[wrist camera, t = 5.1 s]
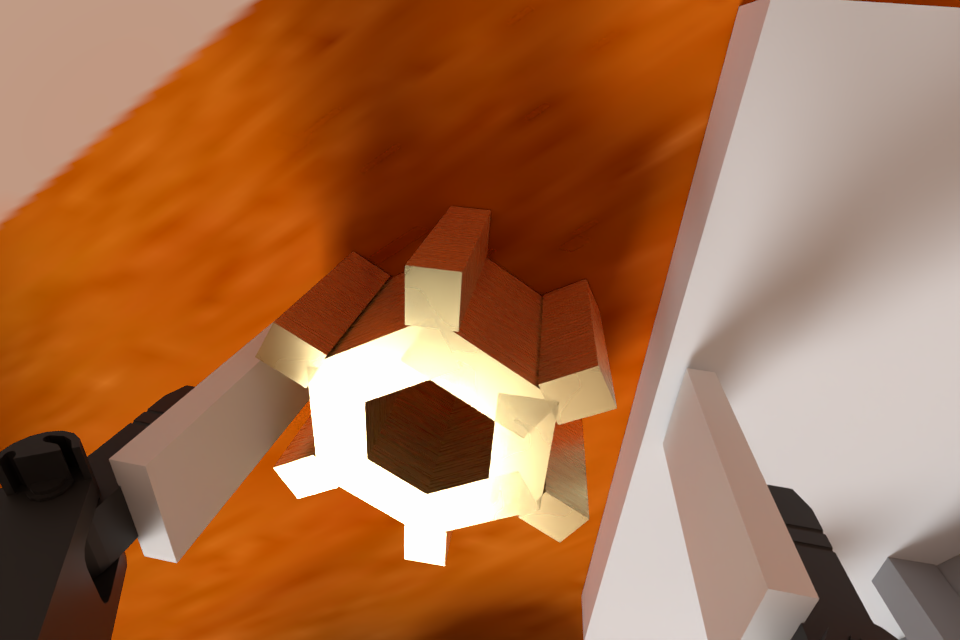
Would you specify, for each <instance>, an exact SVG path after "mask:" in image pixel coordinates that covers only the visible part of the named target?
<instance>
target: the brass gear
mask: <svg viewBox="0 0 960 640" xmlns="http://www.w3.org/2000/svg"><path fill="white" fill-rule="evenodd" d="M490 217H491V210H484V209H475V208H466V207H457V206H450V208H449V209H448V210H447V212H446V213H445V214H444V215H443V217H442V218H441V219H440V221H439V222H438V223H437V224H436V226H435V227H434V228H433V230H432V231H431V232H430V233H429V235H428V236H427V237H426V239H425V240H424V241H423V242H422V244H421V245H420V246H419V248H418V249H417V250H416V251H415V253H414V254H413V255H412V257H411V258H410V259H409V260H408V262H407V263H406V264H405V272H404V273H402V274H399V275H397V276H395V277H392V278H390V275H389V274H387V273H386V272H384V271H383V270H381V269H380V268H378V267H377V266H375V265H374V264H372V263H371V262H369V261H368V260H366V259H365V258H363V257H362V256H360V255H359V254H357V253H356V252H354V251H353V252H352V253H350V254H349V255H348V256H347V257H346V258H345V259H344V260H343V261H342V262H340V263H339V264H338V265H337V266H336V267H335V268H334V269H333V270H331V271H330V272H329V273H328V274H327V275H326V276H325V277H324V278H322V279H321V280H320V281H319V282H318V283H317V284H316V285H315V286H313V287H312V288H311V289H310V290H309V291H308V292H307V293H306V294H304V295H303V296H302V297H301V298H300V299H299V300H298V301H297V302H296V303H294V304H293V305H292V306H291V307H290V308H289V309H288V310H287V311H285V312H284V313H283V314H282V315H281V316H280V317H279V318H278V319H276V320H275V321H274V322H273V324H272V326H271V328H270V330H269V332H268V334H267V335H266V337H265V339H264V341H263V343H262V345H261V347H260V349H259V351H258V352H257V354H256V356H255V357H256V358H257V359H259V360H261V361H262V362H264V363H265V364H267V365H269V366H270V367H272V368H274V369H275V370H277V371H279V372H280V373H282V374H284V375H285V376H287V377H288V378H290V379H292V380H293V381H295V382H297V383H298V384H300V385H302V386H303V387H305V388H307V386H309V395H310V404H311V415H310V417H309V418H308V420H307V421H306V422H305V424H304V425H303V427H302V428H301V429H300V431H299V432H298V434H297V435H296V436H295V438H294V439H293V441H292V442H291V443H290V445H289V446H288V448H287V449H286V450H285V452H284V453H283V455H282V456H281V458H280V459H279V460H278V462H277V463H276V465H275V466H274V467H273V468H274V470H275V471H276V472H277V473H278V475H279V476H280V477H281V478H282V480H283V481H284V482H285V483H286V484H287V486H288V487H289V488H290V489H291V491H292V492H293V493H294V494H295V496H296V497H297V498H302V497H305V496H309V495H312V494H316V493H320V492H323V491H327V490H330V489H334V488H337V487H338V486H340V487H342V488H343V489H345V490H347V491H348V492H350V493H352V494H354V495H355V496H357V497H359V498H361V499H362V500H364V501H366V502H367V503H369V504H371V505H373V506H374V507H376V508H378V509H379V510H381V511H383V512H385V513H386V514H388V515H390V516H392V517H393V518H395V519H397V520H398V521H400V522H402V523H404V524H405V526H404V559H407V560H413V561H418V562H424V563H430V564H435V565H441V566H445V562H446V558H447V553H448V549H449V544H450V540H451V536H452V531H453V530H454V529H458V528H462V527H467V526H471V525H476V524H480V523H484V522H489V521H493V520H497V519H502V518H506V517H511V516H515V515H518V517H519V518H520V519H522V520H524V521H525V522H527V523H529V524H530V525H532V526H534V527H535V528H537V529H538V530H540V531H542V532H543V533H545V534H547V535H548V536H550V537H552V538H553V539H555V540H557V541H558V542H561V541H563V540H564V539H565V538H566V537H568V536H569V535H570V534H571V533H573V532H574V531H575V530H576V529H578V528H579V527H580V526H581V525H583V524H584V523H585V522H586V521H588V520H589V509H588V495H587V481H586V467H585V453H584V439H583V425H582V418H585V417H588V416H592V415H595V414H599V413H602V412H606V411H610V410H613V409H617V406H616V400H615V395H614V389H613V383H612V378H611V372H610V366H609V361H608V355H607V349H606V344H605V338H604V332H603V327H602V321H601V315H600V311H599V308H598V306H597V303H596V301H595V299H594V296H593V294H592V291H591V289H590V286H589V284H588V282H587V279H584V280H581V281H579V282H576V283H573V284H571V285H568V286H565V287H563V288H560V289H557V290H555V291H552V292H549V293H547V294H544V295H543V296H541V295H540V294H538V293H537V292H535V291H534V290H533V289H531V288H530V287H528V286H527V285H525V284H524V283H523V282H521V281H520V280H518V279H517V278H515V277H514V276H512V275H511V274H510V273H508V272H507V271H505V270H504V269H502V268H501V267H500V266H498V265H497V264H495V263H494V262H492V261H491V260H490V259H488V258H487V253H488V241H489V229H490ZM389 278H390V279H389Z"/></svg>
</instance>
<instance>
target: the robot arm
mask: <svg viewBox="0 0 960 640" xmlns="http://www.w3.org/2000/svg"><path fill="white" fill-rule="evenodd" d="M272 324H273V323H272ZM272 324H270V325H269V326H268V327H267V328H266V329H264V330H263V331H262V332H261V333H260V334H258V335H257V336H256V337H255V338H254V339H252V340H251V341H250V342H249V343H248V344H246V345H245V346H244V347H243V348H242V349H240V350H239V351H238V352H237V353H236V354H234V355H233V356H232V357H231V358H230V359H228V360H227V361H226V362H225V363H224V364H222V365H221V366H220V367H219V368H218V369H216V370H215V371H214V372H213V373H212V374H210V375H209V376H208V377H207V378H206V379H204V380H203V381H202V382H201V383H200V384H198V385H197V386H196V387H192V386H184V387H182V388H180V389H178V390H176V391H174V392H172V393H170V394H167V395H165V396H164V397H162V398H161V399H160V400H159V401H157V402H156V403H155V404H154V405H152V406H151V407H150V408H149V409H148V411H147V412H144V413H142V414H141V415H140V416H138V417H137V418H136V419H135V420H134V422H133V423H130V424H128V425H127V426H126V427H125V428H123V429H122V430H121V431H120V432H118V433H117V434H116V435H114V436H113V437H112V438H111V439H109V440H108V441H107V442H106V443H104V444H103V445H102V446H101V447H99V448H98V449H97V450H96V451H94V452H93V453H92V454H90V455H89V456H88V457H87V456H86V453H85V451H84V448H83V446H82V443H81V441H80V438H78V437H77V436H76V435H75V434H74V433H70V432H65V431H53V432H45V433H41V434H37V435H33V436H29V437H27V438H25V439H23V440H20V441H18V442H16V443H13V444H12V445H10V446H9V447H7V448H5V449H4V450H2V451H1V452H0V484H1V486H2V487H3V488H0V640H111V637H112V633H113V628H114V623H115V619H116V614H117V609H118V605H119V600H120V596H121V591H122V586H123V582H124V577H125V572H126V568H127V559H126V555H125V552H124V551H125V550H126V549H127V548H128V547H129V546H130V545H131V544H132V543H133V542H134V541H135V539H136V538H137V537H138V540H139V543H140V545H141V548H142V551H143V554H144V556H147V557H151V558H156V559H160V560H165V561H169V562H174V563H177V562H178V561H179V560H180V559H181V557H182V556H183V555H184V554H185V553H186V551H187V550H188V549H189V548H190V546H191V545H192V544H193V543H194V541H195V540H196V539H197V538H198V536H199V535H200V534H201V533H202V532H203V530H204V529H205V528H206V527H207V525H208V524H209V523H210V522H211V520H212V519H213V518H214V517H215V515H216V514H217V513H218V512H219V510H220V509H221V508H222V507H223V506H224V504H225V503H226V502H227V501H228V499H229V498H230V497H231V496H232V494H233V493H234V492H235V491H236V489H237V488H238V487H239V486H240V485H241V483H242V482H243V481H244V480H245V478H246V477H247V476H248V475H249V473H250V472H251V471H252V470H253V468H254V467H255V466H256V465H257V464H258V462H259V461H260V460H261V459H262V457H263V456H264V455H265V454H266V452H267V451H268V450H269V449H270V447H271V446H272V445H273V444H274V443H275V441H276V440H277V439H278V438H279V436H280V435H281V434H282V433H283V431H284V430H285V429H286V428H287V426H288V425H289V424H290V423H291V422H292V420H293V419H294V418H295V417H296V415H297V414H298V413H299V412H300V410H301V409H302V408H303V407H304V405H305V404H306V403H307V402H308V400H309V399H310V395H309V386H307V388H305V387H303V386H302V385H300V384H298V383H297V382H295V381H293V380H292V379H290V378H288V377H287V376H285V375H284V374H282V373H280V372H279V371H277V370H275V369H274V368H272V367H270V366H269V365H267V364H265V363H264V362H262V361H261V360H259V359H257V358H256V357H255V356H256V354H257V352H258V351H259V349H260V347H261V345H262V343H263V341H264V339H265V337H266V335H267V334H268V332H269V330H270V328H271V326H272ZM663 448H664V452H665V457H666V461H667V465H668V470H669V474H670V478H671V483H672V487H673V491H674V496H675V500H676V504H677V509H678V513H679V517H680V522H681V526H682V531H683V535H684V539H685V544H686V548H687V552H688V557H689V561H690V565H691V570H692V574H693V578H694V583H695V587H696V591H697V596H698V600H699V604H700V609H701V613H702V617H703V622H704V626H705V630H706V635H707V639H708V640H898V639H897V638H896V637H894V636H893V635H892V634H890V633H889V632H887V631H886V630H885V629H883V628H882V627H880V626H878V625H876V624H874V623H873V621H872V620H871V618H870V616H869V614H868V612H867V611H866V609H865V607H864V605H863V603H862V601H861V599H860V597H859V596H858V594H857V592H856V590H855V588H854V586H853V584H852V583H851V581H850V579H849V577H848V575H847V573H846V571H845V570H844V568H843V566H842V564H841V562H840V560H839V558H838V556H837V555H836V553H835V552H833V547H832V545H831V543H830V542H829V540H828V538H827V536H826V534H823V529H822V527H821V525H820V523H819V521H818V519H817V517H816V515H815V514H814V512H813V510H812V508H811V507H810V506H809V505H808V504H807V503H806V502H805V501H804V500H803V499H802V498H801V497H800V496H799V495H798V494H797V493H796V492H795V491H794V490H793V489H790V488H785V487H779V486H773V485H767V484H766V482H765V479H764V477H763V475H762V473H761V471H760V469H759V466H758V464H757V462H756V460H755V458H754V456H753V453H752V451H751V449H750V447H749V445H748V442H747V440H746V438H745V436H744V434H743V432H742V429H741V427H740V425H739V423H738V421H737V419H736V416H735V414H734V412H733V410H732V408H731V405H730V403H729V401H728V399H727V397H726V395H725V392H724V390H723V388H722V386H721V384H720V382H719V379H718V377H717V375H716V373H715V372H710V371H703V370H696V369H689V368H687V369H686V372H685V375H684V378H683V381H682V384H681V388H680V391H679V394H678V397H677V400H676V403H675V407H674V410H673V413H672V416H671V419H670V422H669V425H668V429H667V432H666V435H665V438H664V441H663Z"/></svg>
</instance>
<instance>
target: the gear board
mask: <svg viewBox="0 0 960 640" xmlns="http://www.w3.org/2000/svg"><path fill="white" fill-rule="evenodd" d="M687 368H689V369H696V370H703V371H710V372H715V373H716V375H717V377H718V379H719V382H720V384H721V386H722V388H723V390H724V392H725V395H726V397H727V399H728V401H729V403H730V405H731V408H732V410H733V412H734V414H735V416H736V419H737V421H738V423H739V425H740V427H741V429H742V432H743V434H744V436H745V438H746V440H747V442H748V445H749V447H750V449H751V451H752V453H753V456H754V458H755V460H756V462H757V464H758V466H759V469H760V471H761V473H762V475H763V477H764V479H765V482H766V484H767V485H773V486H779V487H785V488H790V489H793V490H794V491H795V492H796V493H797V494H798V495H799V496H800V497H801V498H802V499H803V500H804V501H805V502H806V503H807V504H808V505H809V506H810V507H811V508H812V510H813V512H814V514H815V515H816V517H817V519H818V521H819V523H820V525H821V527H822V529H823V534H826V536H827V538H828V540H829V542H830V543H831V545H832V547H833V552H835V553H836V555H837V556H838V558H839V560H840V562H841V564H842V566H843V568H844V570H845V571H846V573H847V575H848V577H849V579H850V581H851V583H852V584H853V586H854V588H855V590H856V592H857V594H858V596H859V597H860V599H861V601H862V603H863V605H864V607H865V609H866V611H867V612H868V614H869V616H870V618H871V620H872V621H873V623H874V624H876V625H878V626H880V627H882V628H883V629H885V630H886V631H887V632H889V633H890V634H892V635H893V636H894V637H896V638H897V639H898V640H960V8H957V7H942V6H927V5H911V4H896V3H881V2H866V1H850V0H757V1H754V2H751V3H748V4H745V5H743V6H740V7H739V9H738V12H737V16H736V20H735V23H734V27H733V31H732V35H731V38H730V42H729V46H728V50H727V53H726V57H725V61H724V65H723V68H722V72H721V76H720V80H719V83H718V87H717V91H716V95H715V98H714V102H713V106H712V110H711V113H710V117H709V121H708V125H707V128H706V132H705V136H704V139H703V143H702V147H701V151H700V154H699V158H698V162H697V166H696V169H695V173H694V177H693V181H692V184H691V188H690V192H689V196H688V199H687V203H686V207H685V211H684V214H683V218H682V222H681V226H680V229H679V233H678V237H677V241H676V244H675V248H674V252H673V255H672V259H671V263H670V267H669V270H668V274H667V278H666V282H665V285H664V289H663V293H662V297H661V300H660V304H659V308H658V312H657V315H656V319H655V323H654V327H653V330H652V334H651V338H650V342H649V345H648V349H647V353H646V357H645V360H644V364H643V368H642V371H641V375H640V379H639V383H638V386H637V390H636V394H635V398H634V401H633V405H632V409H631V413H630V416H629V420H628V424H627V428H626V431H625V435H624V439H623V443H622V446H621V450H620V454H619V458H618V461H617V465H616V469H615V473H614V476H613V480H612V484H611V487H610V491H609V495H608V499H607V502H606V506H605V510H604V514H603V517H602V521H601V525H600V529H599V532H598V536H597V540H596V544H595V547H594V551H593V555H592V559H591V562H590V566H589V570H588V574H587V577H586V581H585V585H584V589H583V592H582V618H583V639H584V640H708V639H707V635H706V630H705V626H704V622H703V617H702V613H701V609H700V604H699V600H698V596H697V591H696V587H695V583H694V578H693V574H692V570H691V565H690V561H689V557H688V552H687V548H686V544H685V539H684V535H683V531H682V526H681V522H680V517H679V513H678V509H677V504H676V500H675V496H674V491H673V487H672V483H671V478H670V474H669V470H668V465H667V461H666V457H665V452H664V448H663V441H664V438H665V435H666V432H667V429H668V425H669V422H670V419H671V416H672V413H673V410H674V407H675V403H676V400H677V397H678V394H679V391H680V388H681V384H682V381H683V378H684V375H685V372H686V369H687Z"/></svg>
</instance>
